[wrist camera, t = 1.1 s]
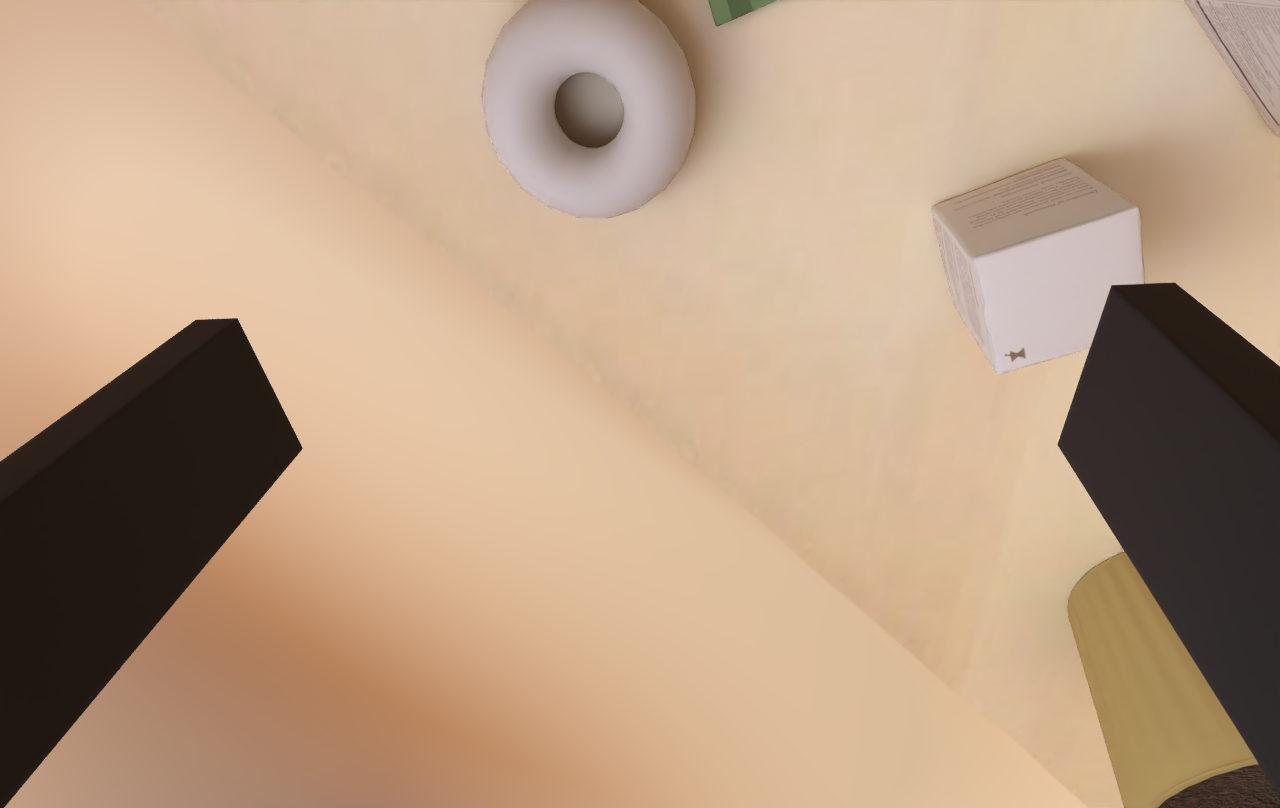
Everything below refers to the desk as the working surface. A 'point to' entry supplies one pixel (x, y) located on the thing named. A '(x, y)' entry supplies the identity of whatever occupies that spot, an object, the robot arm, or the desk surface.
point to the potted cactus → (1157, 702)
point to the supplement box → (1247, 47)
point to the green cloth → (734, 8)
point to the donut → (626, 57)
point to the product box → (1037, 260)
